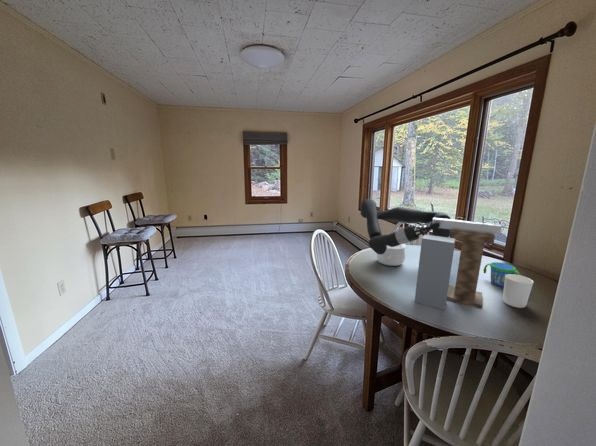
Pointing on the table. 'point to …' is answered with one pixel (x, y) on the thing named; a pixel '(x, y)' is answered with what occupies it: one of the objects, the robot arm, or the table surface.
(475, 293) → the walnut pedestal
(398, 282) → the table surface
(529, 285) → the candle holder
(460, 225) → the aluminium bar
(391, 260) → the pot
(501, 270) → the snack cup
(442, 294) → the slate plinth
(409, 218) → the robot arm
